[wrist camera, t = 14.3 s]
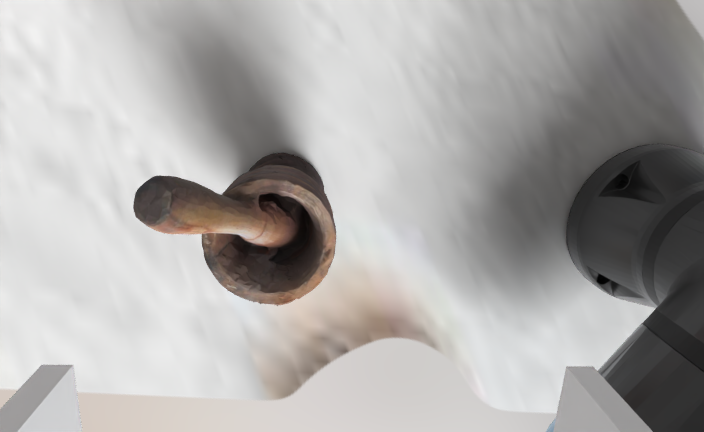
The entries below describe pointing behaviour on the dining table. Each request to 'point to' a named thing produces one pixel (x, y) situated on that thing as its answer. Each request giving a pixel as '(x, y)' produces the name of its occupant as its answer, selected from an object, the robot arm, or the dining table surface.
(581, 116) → the dining table surface
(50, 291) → the dining table surface
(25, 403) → the robot arm
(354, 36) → the dining table surface
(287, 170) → the mortar and pestle
